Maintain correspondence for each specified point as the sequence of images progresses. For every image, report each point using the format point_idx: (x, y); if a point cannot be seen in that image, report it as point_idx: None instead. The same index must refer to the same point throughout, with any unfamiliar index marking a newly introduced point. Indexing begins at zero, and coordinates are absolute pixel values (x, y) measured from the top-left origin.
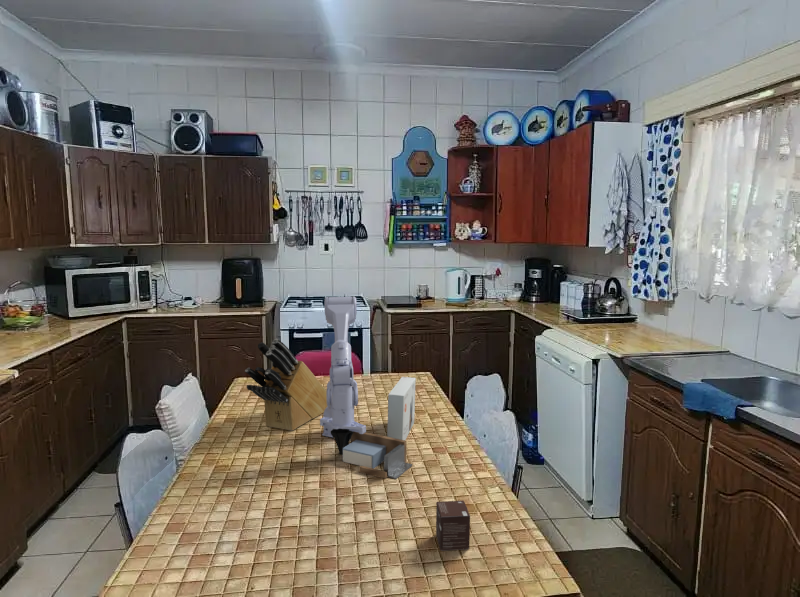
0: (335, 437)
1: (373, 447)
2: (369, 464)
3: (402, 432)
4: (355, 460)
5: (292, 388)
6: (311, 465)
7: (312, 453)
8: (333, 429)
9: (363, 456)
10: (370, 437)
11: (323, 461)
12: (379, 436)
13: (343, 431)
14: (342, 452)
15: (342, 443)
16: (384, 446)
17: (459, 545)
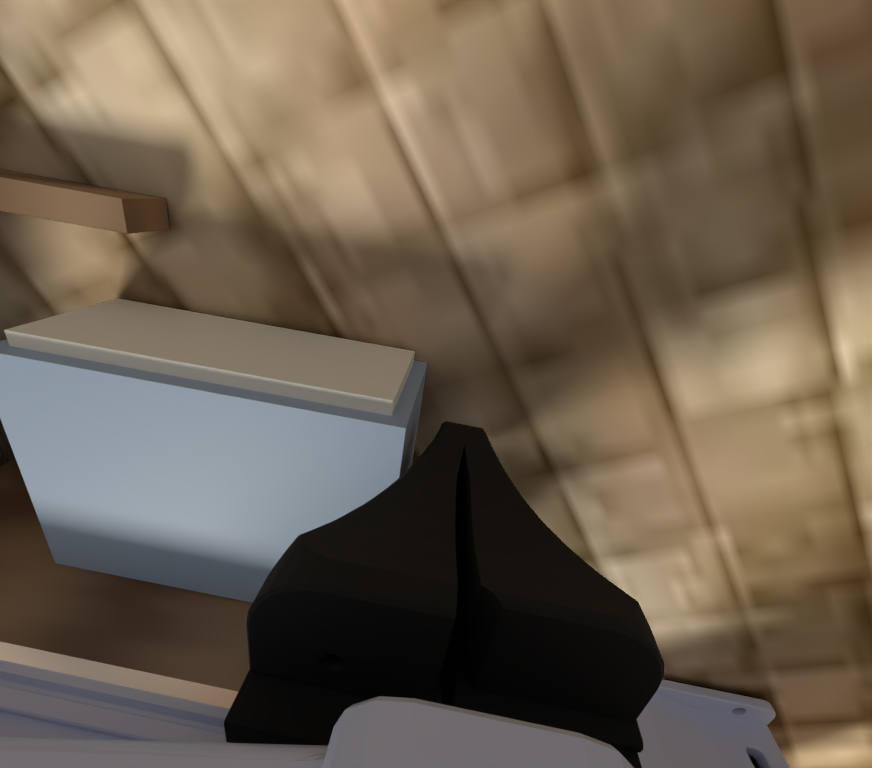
0: (524, 546)
1: (123, 517)
2: (107, 308)
3: None
4: (260, 338)
5: None
6: (722, 173)
7: (780, 437)
8: (624, 730)
9: (118, 342)
10: (188, 649)
11: (612, 310)
12: (66, 663)
13: (353, 675)
14: (441, 431)
15: (407, 480)
16: (57, 552)
17: None
